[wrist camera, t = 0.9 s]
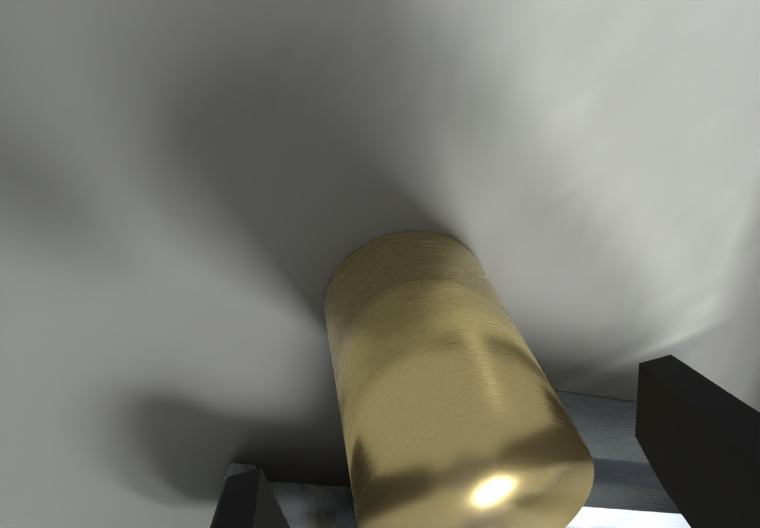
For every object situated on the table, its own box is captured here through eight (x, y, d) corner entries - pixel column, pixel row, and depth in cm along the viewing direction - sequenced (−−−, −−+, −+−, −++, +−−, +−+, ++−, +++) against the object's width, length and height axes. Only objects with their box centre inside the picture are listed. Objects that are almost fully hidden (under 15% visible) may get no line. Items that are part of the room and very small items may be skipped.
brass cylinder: (433, 381, 17) (505, 588, 12) (296, 340, 15) (315, 559, 10) (516, 264, 15) (642, 449, 10) (373, 205, 14) (439, 388, 9)
